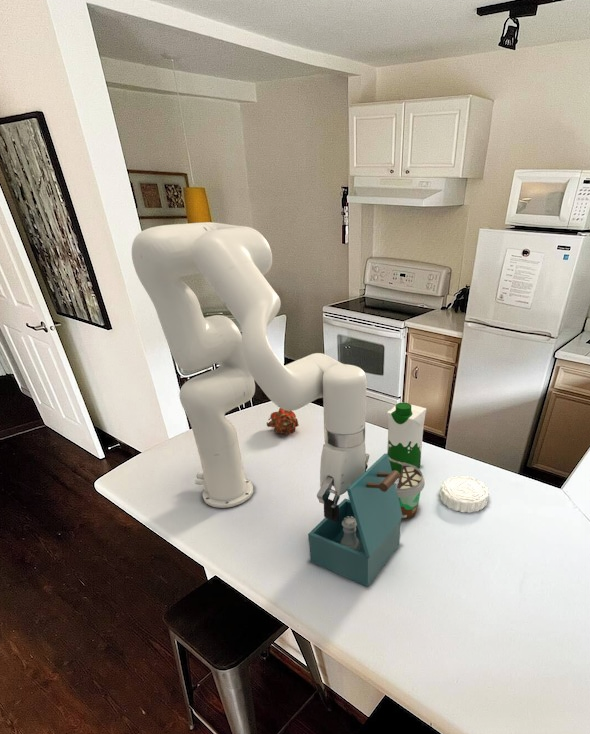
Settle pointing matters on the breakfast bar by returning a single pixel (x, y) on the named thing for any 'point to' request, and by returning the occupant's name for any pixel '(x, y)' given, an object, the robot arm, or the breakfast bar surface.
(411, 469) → the food container
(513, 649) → the breakfast bar surface
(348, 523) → the rook chess piece
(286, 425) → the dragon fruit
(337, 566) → the teal hinged box
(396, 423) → the milk carton
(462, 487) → the mooncake
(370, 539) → the lid
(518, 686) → the breakfast bar surface
